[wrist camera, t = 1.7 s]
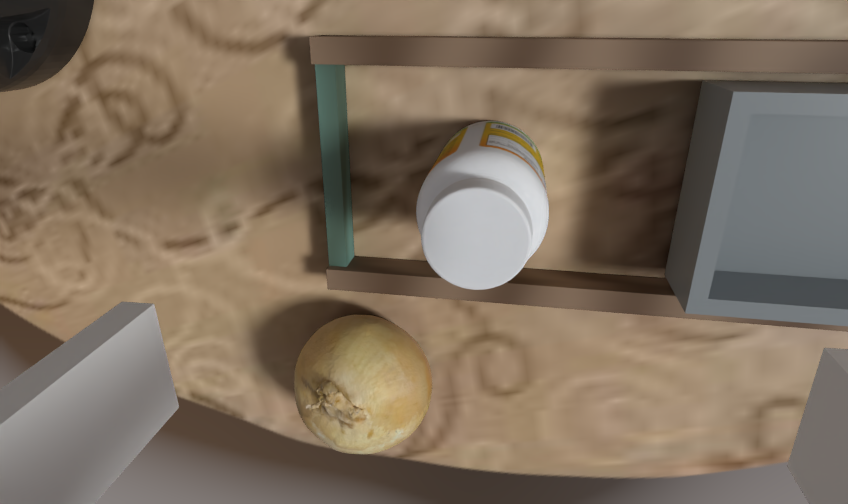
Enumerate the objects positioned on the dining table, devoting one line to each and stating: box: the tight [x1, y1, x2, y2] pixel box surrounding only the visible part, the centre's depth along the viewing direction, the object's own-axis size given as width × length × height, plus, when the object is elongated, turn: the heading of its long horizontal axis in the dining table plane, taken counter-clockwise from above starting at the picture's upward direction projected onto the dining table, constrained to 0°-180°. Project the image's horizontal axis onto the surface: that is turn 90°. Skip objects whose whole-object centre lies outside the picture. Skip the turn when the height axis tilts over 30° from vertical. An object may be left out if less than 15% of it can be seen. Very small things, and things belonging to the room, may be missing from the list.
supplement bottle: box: [416, 121, 549, 290], centre depth 24 cm, size 5×5×10 cm
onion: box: [294, 315, 432, 454], centre depth 31 cm, size 8×8×7 cm
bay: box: [309, 35, 848, 332], centre depth 26 cm, size 32×13×2 cm, turn 90°
